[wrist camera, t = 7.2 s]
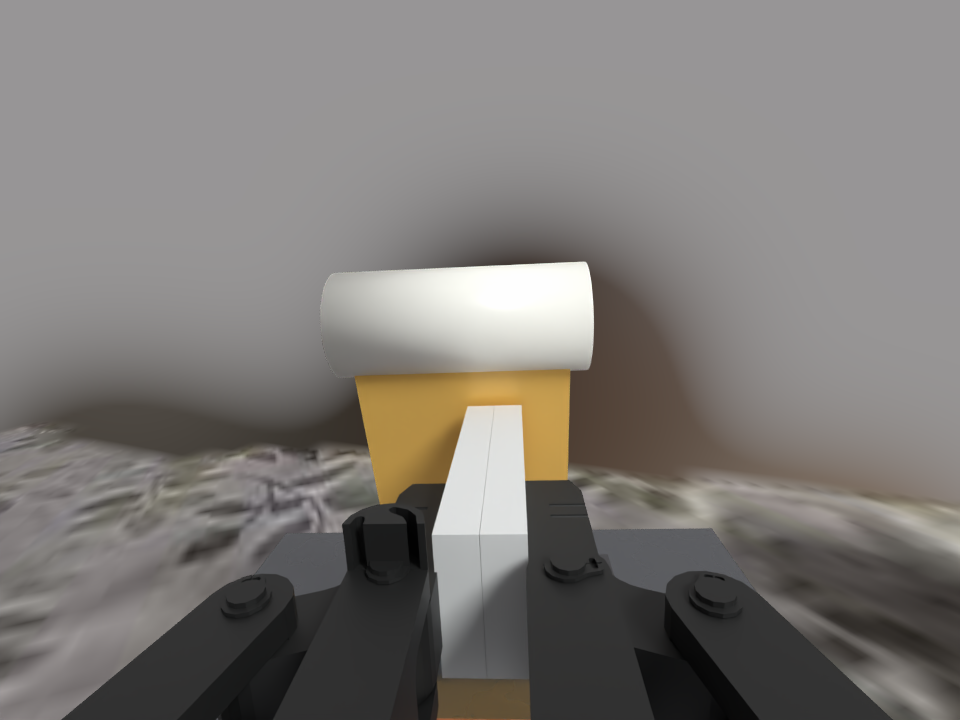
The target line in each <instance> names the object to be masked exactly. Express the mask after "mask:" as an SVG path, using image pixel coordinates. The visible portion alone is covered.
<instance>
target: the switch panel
mask: <svg viewBox="0 0 960 720" xmlns="http://www.w3.org/2000/svg"><path fill="white" fill-rule="evenodd" d="M592 532H593V536H594V540H595V543H596V547H597V551H598V554H599V556H601V557H602V558H603V559H605V560H606V562H607V564H608V565H609V567H610V569H611V571H612V575H614V576H615V577H616V578H618V579H619V580H622V581H624V582H626V583H628V584H630V585H633V586H637V587H640V588H643V589H648V590H652V591H657V592H662V593H666V586H667V583H668V582H669V581H670V580H671V579H672V578H673V577H674V576H676V575H679V574H682V573H685V572H688V571H709V572H714V573H715V572H716V573H720V574H724V575H727V576H729V577H731V578H734V579H736V580H739V581H741V582H743V583H744V584H746V585H747V586H749V587H750V588H751V589H753V590H754V591H755V589H754V588H753V586H752V585H751V584H750V582H749V581H748V579H747V578H746V577H745V575H744V574H743V572H742V571H741V569H740V568H739V567H738V565H737V564H736V562H735V561H734V560H733V558H732V557H731V555H730V554H729V552H728V551H727V550H726V548H725V547H724V545H723V544H722V542H721V541H720V540H719V538H718V537H717V535H716V534H715V533H714V531H713V530H712V529H625V530H592ZM346 572H347V562H346V553H345V545H344V536H343V533H286V534H285V536H284V537H283V538H282V539H281V541H280V542H279V543H278V545H277V546H276V547H275V549H274V550H273V551H272V553H271V554H270V555H269V556H268V558H267V559H266V560H265V562H264V563H263V564H262V566H261V567H260V568H259V569H258V571H257V572H256V573H255V575H256V574H278V575H280V576H283V577H286V578H288V579H289V581H290V582H291V583H292V585H293V586H294V593H295V596H299V595H304V594H308V593H313V592H317V591H322V590H326V589H329V588H333V587H336V586H338V585H340V584H341V582H342V580H343V578H344V576H345V574H346ZM437 688H438V702H439V707H438V714H437V720H531V718H530V684H529V679H474V678H442V666H441V658H440V664H439V670H438V675H437ZM216 720H218V718H217V719H216Z"/></svg>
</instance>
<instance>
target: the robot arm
mask: <svg viewBox="0 0 960 720" xmlns="http://www.w3.org/2000/svg"><path fill="white" fill-rule="evenodd" d="M342 528H343V536H344V545H345V553H346V562H347V572H346V574H345V576H344V578H343V580H342V582H341V584H340V585H338V586H336V587H333V588H329V589H326V590H322V591H317V592H313V593H308V594H304V595H299V596H295V593H294V586H293V585H292V583H291V582H290V581H289V579H288V578H286V577H283V576H280V575H278V574H256V575H253V576H252V575H250V576H246V577H243V578H241V579H239V580H236V581H234V582H231V583H229V584H227V585H225V586H224V587H222V588H221V589H219V590H218V591H216V592H215V593H213V594H212V595H211V596H209V597H208V598H207V599H206V600H205V601H203V602H202V603H201V604H200V605H199V606H197V607H196V608H195V609H194V610H193V611H191V612H190V613H189V614H188V615H187V616H185V617H184V618H183V619H182V620H181V621H179V622H178V623H177V624H176V625H175V626H173V627H172V628H171V629H170V630H169V631H167V632H166V633H165V634H164V635H163V636H161V637H160V638H159V639H158V640H157V641H155V642H154V643H153V644H152V645H151V646H149V647H148V648H147V649H146V650H145V651H143V652H142V653H141V654H140V655H139V656H137V657H136V658H135V659H134V660H133V661H131V662H130V663H129V664H128V665H127V666H125V667H124V668H123V669H122V670H121V671H119V672H118V673H117V674H116V675H115V676H113V677H112V678H111V679H110V680H109V681H107V682H106V683H105V684H104V685H103V686H101V687H100V688H99V689H98V690H97V691H95V692H94V693H93V694H92V695H91V696H89V697H88V698H87V699H86V700H85V701H83V702H82V703H81V704H80V705H79V706H77V707H76V708H75V709H74V710H73V711H71V712H70V713H69V714H68V715H67V716H65V717H64V718H63V719H62V720H216V719H217V718H218V720H437V714H438V707H439V702H438V688H437V675H438V670H439V664H440V658H441V666H442V678H474V679H529V684H530V718H531V720H893V719H891V718H890V717H889V716H888V715H887V714H886V713H885V712H884V711H883V710H882V709H881V708H880V707H879V706H878V705H877V704H875V703H874V702H873V701H872V700H871V699H870V698H869V697H868V696H867V695H866V694H865V693H864V692H863V691H862V690H861V689H859V688H858V687H857V686H856V685H855V684H854V683H853V682H852V681H851V680H850V679H849V678H848V677H847V676H846V675H845V674H843V673H842V672H841V671H840V670H839V669H838V668H837V667H836V666H835V665H834V664H833V663H832V662H831V661H830V660H829V659H827V658H826V657H825V656H824V655H823V654H822V653H821V652H820V651H819V650H818V649H817V648H816V647H815V646H814V645H812V644H811V643H810V642H809V641H808V640H807V639H806V638H805V637H804V636H803V635H802V634H801V633H800V632H799V631H798V630H796V629H795V628H794V627H793V626H792V625H791V624H790V623H789V622H788V621H787V620H786V619H785V618H784V617H783V616H782V615H780V614H779V613H778V612H777V611H776V610H775V609H774V608H773V607H772V606H771V605H770V604H769V603H768V602H767V601H766V600H764V599H763V598H762V597H761V596H760V595H759V594H758V593H757V592H756V591H754V590H753V589H751V588H750V587H749V586H747V585H746V584H744V583H743V582H741V581H739V580H736V579H734V578H731V577H729V576H727V575H724V574H720V573H716V572H715V573H714V572H709V571H688V572H685V573H682V574H679V575H676V576H674V577H673V578H672V579H671V580H670V581H669V582H668V583H667V586H666V593H662V592H657V591H652V590H648V589H643V588H640V587H637V586H633V585H630V584H628V583H626V582H624V581H622V580H619V579H618V578H616V577H615V576H614V575H612V571H611V569H610V567H609V565H608V564H607V562H606V560H605V559H603V558H602V557H601V556H599V554H598V551H597V547H596V543H595V540H594V536H593V532H592V529H591V525H590V521H589V518H588V514H587V510H586V506H585V503H584V499H583V495H582V492H581V490H580V489H579V488H577V487H576V486H575V485H574V484H573V483H572V482H571V481H569V480H535V481H525V469H524V448H523V427H522V406H521V405H500V406H468V407H467V411H466V414H465V418H464V421H463V425H462V428H461V432H460V436H459V439H458V443H457V446H456V450H455V453H454V457H453V461H452V464H451V468H450V471H449V475H448V478H447V482H446V483H439V484H412V485H411V486H410V487H408V488H407V489H406V490H404V491H403V492H402V493H401V494H399V496H398V498H397V500H396V503H389V504H380V505H375V506H372V507H368V508H365V509H362V510H360V511H358V512H356V513H355V514H353V515H351V516H350V517H349V518H348V519H347V520H346V521H345V522H344V523H343V524H342Z"/></svg>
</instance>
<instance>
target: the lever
mask: <svg viewBox="0 0 960 720" xmlns="http://www.w3.org/2000/svg"><path fill="white" fill-rule="evenodd" d="M320 326H321V336H322V344H323V349H324V353H325V356H326V359H327V362H328V364H329V367H330V369H331V370H332V372H333V373H334V374H335V375H336V376H337V377H340V378H345V377H355V381H356V386H357V391H358V396H359V401H360V406H361V410H362V416H363V421H364V426H365V430H366V436H367V441H368V446H369V451H370V456H371V461H372V466H373V471H374V476H375V481H376V486H377V491H378V496H379V501H380V504H389V503H396V500H397V498H398V496H399V494H401V493H402V492H403V491H404V490H406V489H407V488H408V487H410V486H411V485H412V484H439V483H446V482H447V478H448V475H449V471H450V468H451V464H452V461H453V457H454V453H455V450H456V446H457V443H458V439H459V436H460V432H461V428H462V425H463V421H464V418H465V414H466V411H467V407H468V406H500V405H521V406H522V427H523V448H524V469H525V481H535V480H567V477H568V437H569V397H570V396H569V395H570V370H588V369H589V367H590V363H591V358H592V349H593V334H594V314H593V295H592V285H591V278H590V273H589V268H588V266H587V263H586V262H567V263H546V264H524V265H501V266H479V267H456V268H437V269H436V268H434V269H413V270H392V271H391V270H390V271H368V272H347V273H346V272H345V273H333V274H331V275H330V276H329V277H328V279H327V280H326V282H325V285H324V288H323V293H322V298H321V308H320Z"/></svg>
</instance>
